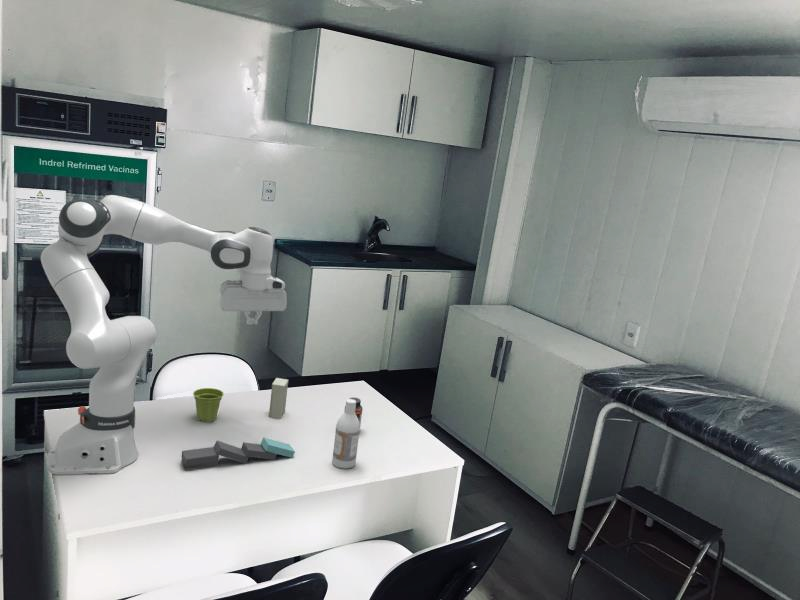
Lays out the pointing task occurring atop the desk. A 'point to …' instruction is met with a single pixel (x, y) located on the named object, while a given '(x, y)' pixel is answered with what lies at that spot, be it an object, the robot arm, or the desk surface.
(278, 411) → the skincare box
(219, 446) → the domino
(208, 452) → the domino
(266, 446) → the domino
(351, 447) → the bath foam
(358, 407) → the supplement bottle
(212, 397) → the plant pot
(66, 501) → the desk surface
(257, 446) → the domino
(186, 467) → the domino
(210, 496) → the desk surface
